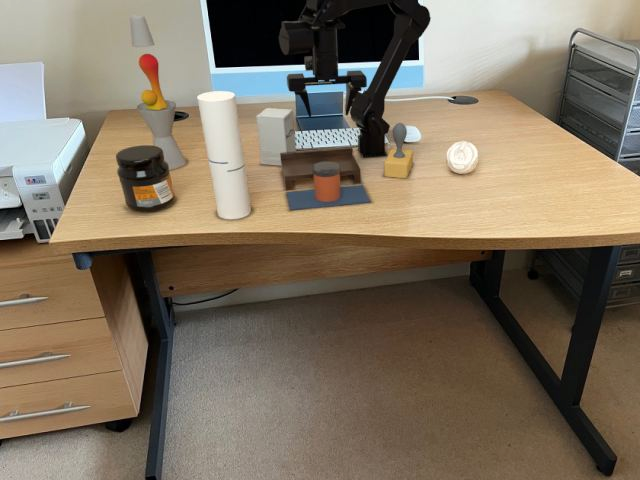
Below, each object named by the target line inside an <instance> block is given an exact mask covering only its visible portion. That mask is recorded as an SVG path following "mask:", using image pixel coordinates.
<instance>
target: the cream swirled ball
mask: <svg viewBox="0 0 640 480" xmlns="http://www.w3.org/2000/svg"><path fill="white" fill-rule="evenodd" d="M479 158H480V157H479V150H478V149H477V147H476V146H475V144H473V143H471V142H468V141H467V140H463V141H462V140H461V141H457V142H455V143H453V144H452V145H450V147H449V148H448V150H447V152H446V155H445V159H446V163H447V166H448V168H449V169H450V170H451V171H452V172H453V173H456V174H459V175H465V174H469V173H471V172H472V171H474V170H475V169H476V167H477V165H478V162H479Z"/></svg>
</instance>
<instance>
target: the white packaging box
mask: <svg viewBox="0 0 640 480" xmlns="http://www.w3.org/2000/svg"><path fill="white" fill-rule="evenodd" d="M255 118H256V129H257V137H258V145H259V153H260V163H261V164H262V165H267V166H269V165H270V166H281V158H280V153H284V152H296V151H297V148H296V147H297V146H296V134H295V124H294V123H295V122H294V111H293V109H291V108H290V109H289V108H275V107H265V109H264V110H262V111H260V113H258V114H257V115H256V116H255Z"/></svg>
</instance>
